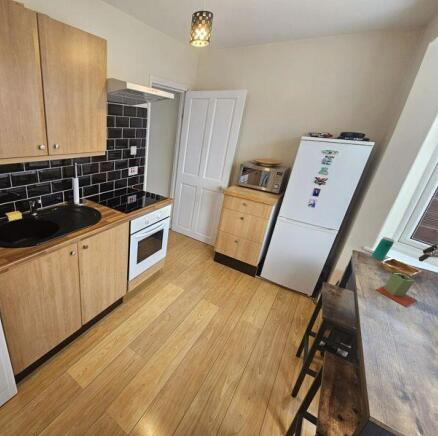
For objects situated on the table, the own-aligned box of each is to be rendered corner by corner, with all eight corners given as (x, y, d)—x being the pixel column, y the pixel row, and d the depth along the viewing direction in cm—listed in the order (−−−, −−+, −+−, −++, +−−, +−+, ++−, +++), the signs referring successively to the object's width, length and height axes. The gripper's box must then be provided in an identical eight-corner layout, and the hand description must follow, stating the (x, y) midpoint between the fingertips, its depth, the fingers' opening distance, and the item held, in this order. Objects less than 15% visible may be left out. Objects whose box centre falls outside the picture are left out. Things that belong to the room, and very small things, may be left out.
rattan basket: (418, 275, 136) (422, 271, 134) (407, 280, 130) (411, 275, 129) (389, 262, 147) (392, 257, 146) (377, 266, 142) (380, 261, 140)
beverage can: (384, 262, 146) (397, 242, 140) (373, 260, 148) (385, 240, 142) (379, 257, 151) (391, 238, 145) (369, 255, 153) (380, 236, 146)
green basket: (393, 288, 122) (403, 273, 117) (403, 296, 117) (415, 281, 112) (382, 288, 121) (393, 273, 117) (393, 295, 116) (403, 280, 112)
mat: (416, 300, 115) (417, 300, 115) (405, 306, 110) (406, 306, 110) (387, 285, 125) (387, 284, 125) (375, 290, 120) (375, 289, 120)
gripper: (445, 234, 115) (411, 252, 119) (484, 250, 102) (445, 270, 106) (447, 243, 117) (414, 261, 121) (486, 260, 105) (448, 279, 108)
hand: (429, 265), depth 113 cm, fingers open, 8 cm apart
